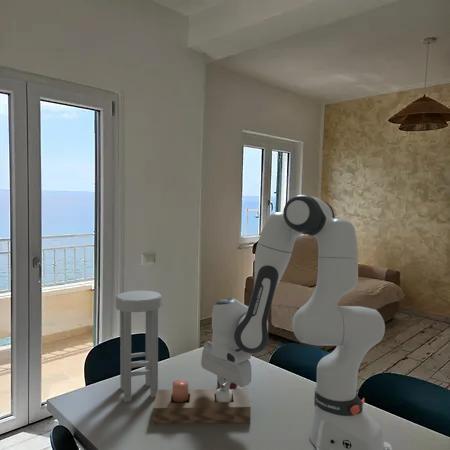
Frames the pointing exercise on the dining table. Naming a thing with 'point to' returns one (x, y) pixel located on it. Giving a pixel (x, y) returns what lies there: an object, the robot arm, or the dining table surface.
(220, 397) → the white rounded piece
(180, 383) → the terracotta plunger
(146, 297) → the stool
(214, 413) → the wooden block with holes
